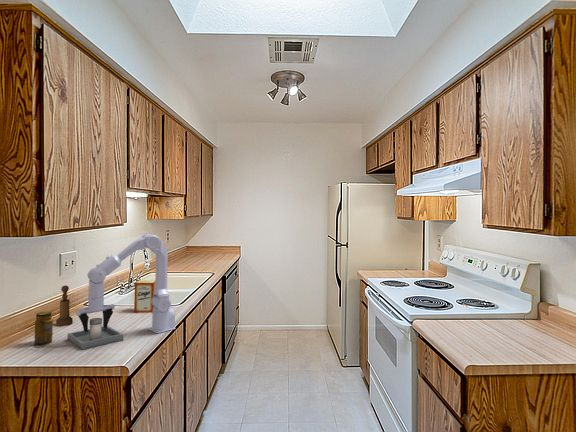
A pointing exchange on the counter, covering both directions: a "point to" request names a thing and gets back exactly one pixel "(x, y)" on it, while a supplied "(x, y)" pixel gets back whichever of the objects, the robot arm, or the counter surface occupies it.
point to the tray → (84, 342)
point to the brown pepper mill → (64, 309)
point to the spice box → (144, 296)
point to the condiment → (43, 330)
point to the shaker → (95, 328)
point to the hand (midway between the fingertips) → (95, 329)
